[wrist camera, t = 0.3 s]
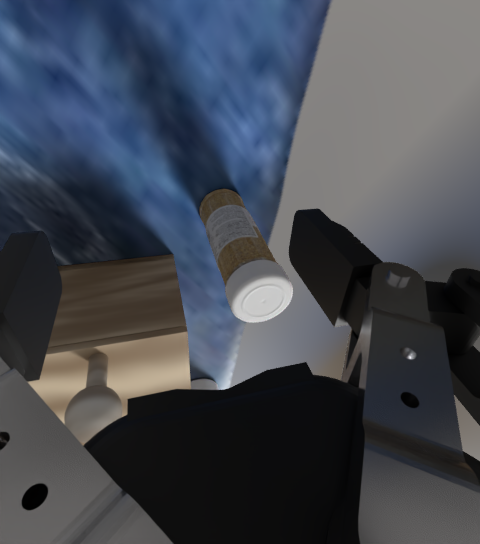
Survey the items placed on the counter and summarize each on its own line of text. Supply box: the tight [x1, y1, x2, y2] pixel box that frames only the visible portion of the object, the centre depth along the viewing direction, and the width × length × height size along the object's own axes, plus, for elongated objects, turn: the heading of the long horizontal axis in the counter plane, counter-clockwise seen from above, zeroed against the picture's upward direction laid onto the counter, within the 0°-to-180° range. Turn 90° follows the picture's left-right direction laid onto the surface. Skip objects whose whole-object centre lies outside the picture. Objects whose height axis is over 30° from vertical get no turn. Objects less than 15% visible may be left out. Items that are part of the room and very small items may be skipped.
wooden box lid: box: [28, 326, 191, 445], centre depth 27 cm, size 16×14×7 cm
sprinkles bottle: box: [199, 189, 293, 322], centre depth 27 cm, size 5×5×14 cm
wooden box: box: [48, 254, 186, 348], centre depth 33 cm, size 16×14×10 cm
